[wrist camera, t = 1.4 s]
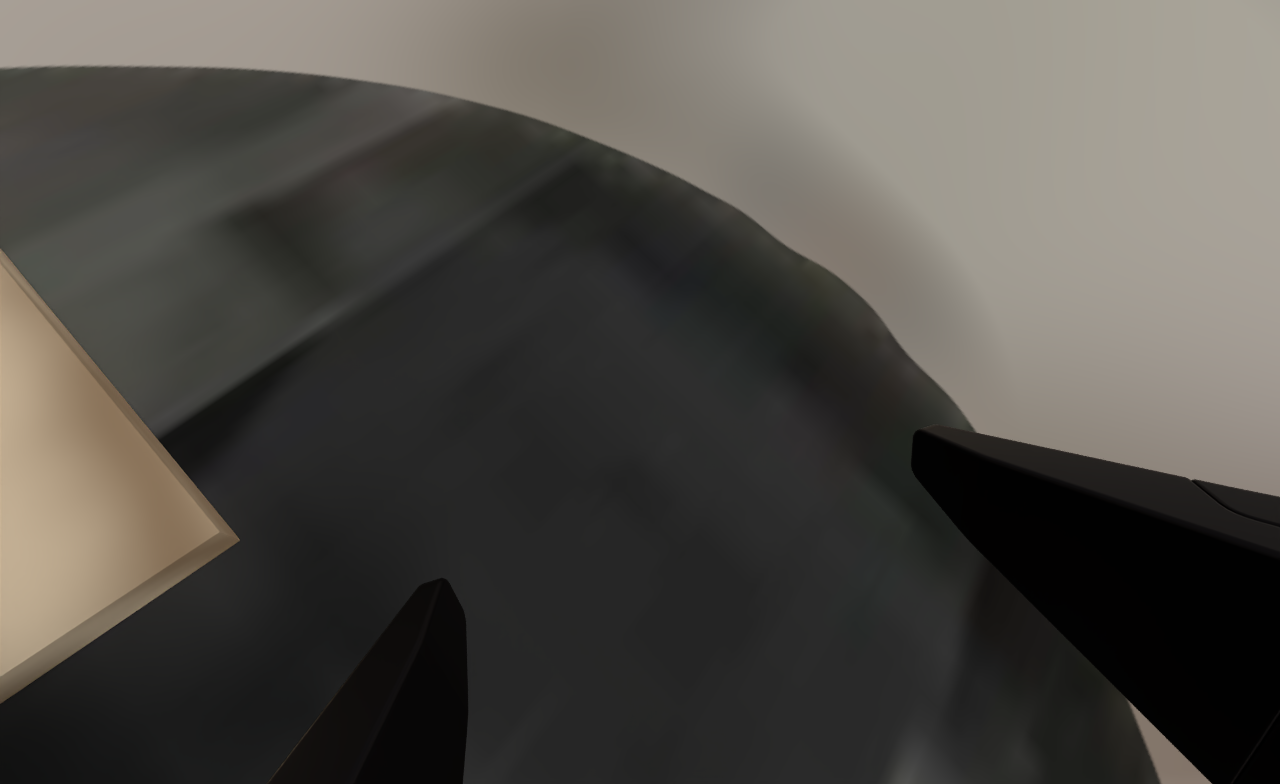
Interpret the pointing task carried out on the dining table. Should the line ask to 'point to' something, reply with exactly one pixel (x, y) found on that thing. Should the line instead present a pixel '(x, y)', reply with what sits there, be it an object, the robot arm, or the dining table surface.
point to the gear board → (80, 497)
